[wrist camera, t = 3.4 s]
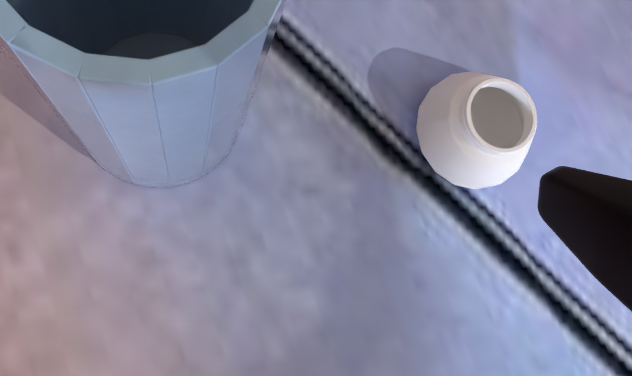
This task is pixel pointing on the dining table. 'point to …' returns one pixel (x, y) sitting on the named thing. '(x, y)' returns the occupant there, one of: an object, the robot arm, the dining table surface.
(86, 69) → the blue tumbler
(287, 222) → the dining table surface
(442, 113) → the white jar
